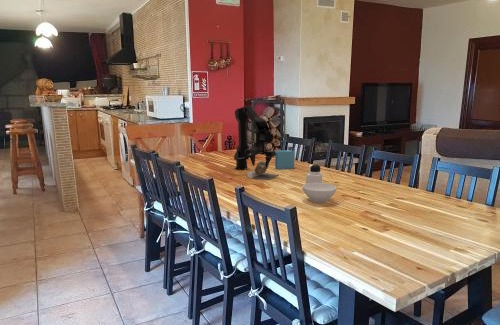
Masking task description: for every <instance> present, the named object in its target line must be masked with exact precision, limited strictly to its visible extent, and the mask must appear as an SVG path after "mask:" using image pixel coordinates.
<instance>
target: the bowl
mask: <svg viewBox="0 0 500 325" xmlns="http://www.w3.org/2000/svg"><path fill="white" fill-rule="evenodd" d="M301 186H302V187H301V188H302V191H303V193H304V194H305V196H307V197H308V199H309V200H310V201H311V202H312V203H315V204H325V203H327V202H328V200H330V199H331V198H332V197H333V196H334V195H335V193H336V192H337V186H336V185H334V184H331V183H327V182H322V183H307V184H306V183H304V184H302V185H301Z"/></svg>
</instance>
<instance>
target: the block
mask: <svg viewBox="0 0 500 325" xmlns="http://www.w3.org/2000/svg"><path fill="white" fill-rule="evenodd" d="M269 166H270V163H269V164H268V167H269ZM268 167H267V168H266V160H262V161H259V162H257V164H256V166H255V168H254V170H253V171H255V172H256V173H258V174H262V173H265V172H266V173H267V170H268Z"/></svg>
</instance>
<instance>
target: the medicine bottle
mask: <svg viewBox="0 0 500 325" xmlns="http://www.w3.org/2000/svg"><path fill="white" fill-rule="evenodd" d="M307 183H323V173H322V172H321V165H319V164H310V165H308V173H307V174H306V176H305V184H307Z"/></svg>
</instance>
